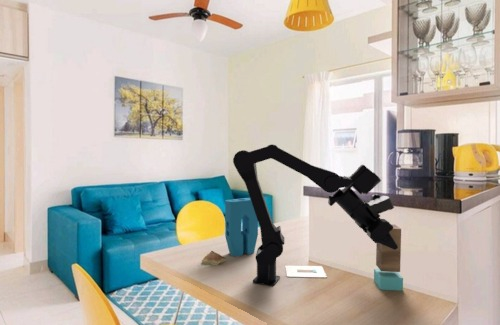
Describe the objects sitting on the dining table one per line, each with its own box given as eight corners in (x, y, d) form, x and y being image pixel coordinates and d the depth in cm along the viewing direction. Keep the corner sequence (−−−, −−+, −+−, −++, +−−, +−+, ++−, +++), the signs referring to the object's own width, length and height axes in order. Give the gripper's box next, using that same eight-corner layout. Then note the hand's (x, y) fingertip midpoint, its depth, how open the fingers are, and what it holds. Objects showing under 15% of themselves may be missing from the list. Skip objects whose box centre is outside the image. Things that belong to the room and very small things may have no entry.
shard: (211, 254, 119) (211, 249, 119) (231, 256, 117) (231, 251, 117) (200, 265, 108) (200, 259, 108) (222, 266, 107) (222, 261, 107)
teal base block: (402, 290, 87) (403, 278, 87) (380, 289, 88) (380, 277, 88) (395, 281, 93) (395, 269, 93) (373, 280, 94) (374, 268, 94)
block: (251, 248, 125) (251, 197, 124) (258, 251, 120) (258, 199, 120) (224, 253, 118) (224, 200, 117) (231, 257, 114) (230, 202, 113)
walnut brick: (400, 272, 88) (401, 228, 87) (381, 271, 88) (382, 228, 88) (393, 265, 93) (394, 224, 92) (376, 264, 93) (376, 224, 93)
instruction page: (327, 277, 96) (327, 276, 96) (287, 277, 97) (287, 276, 97) (321, 266, 105) (321, 265, 105) (285, 266, 106) (285, 265, 106)
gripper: (385, 190, 81) (430, 235, 80) (366, 182, 99) (402, 218, 98) (352, 220, 82) (396, 264, 81) (340, 207, 100) (375, 243, 100)
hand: (393, 245), depth 90 cm, fingers closed on walnut brick, 5 cm apart
